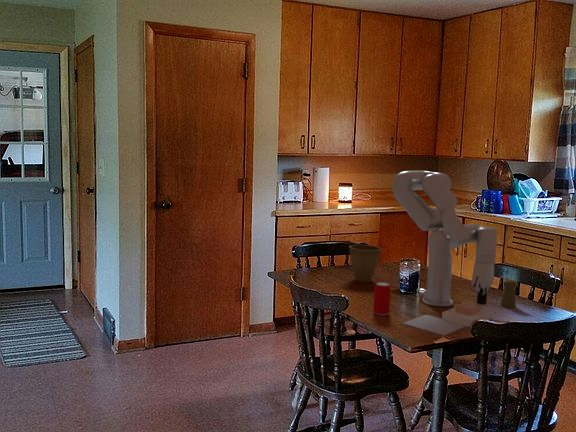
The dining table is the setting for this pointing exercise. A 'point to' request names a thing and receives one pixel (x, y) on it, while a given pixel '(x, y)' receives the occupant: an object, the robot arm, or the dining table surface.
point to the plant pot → (364, 261)
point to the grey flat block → (465, 316)
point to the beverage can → (382, 299)
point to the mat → (434, 325)
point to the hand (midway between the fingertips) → (481, 303)
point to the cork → (508, 294)
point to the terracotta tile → (468, 308)
